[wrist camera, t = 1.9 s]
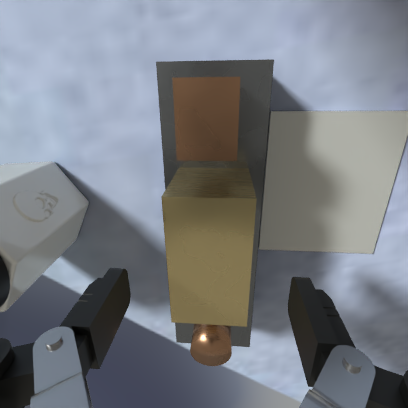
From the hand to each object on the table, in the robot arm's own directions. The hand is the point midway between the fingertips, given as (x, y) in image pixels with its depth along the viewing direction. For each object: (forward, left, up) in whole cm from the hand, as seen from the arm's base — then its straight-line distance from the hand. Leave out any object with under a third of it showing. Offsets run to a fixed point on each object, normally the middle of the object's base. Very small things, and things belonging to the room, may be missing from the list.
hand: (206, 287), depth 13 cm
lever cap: (0, 0, -6) cm, 6 cm away
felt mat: (-1, +9, -11) cm, 14 cm away
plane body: (+1, 0, -11) cm, 11 cm away
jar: (+1, -16, -11) cm, 20 cm away
